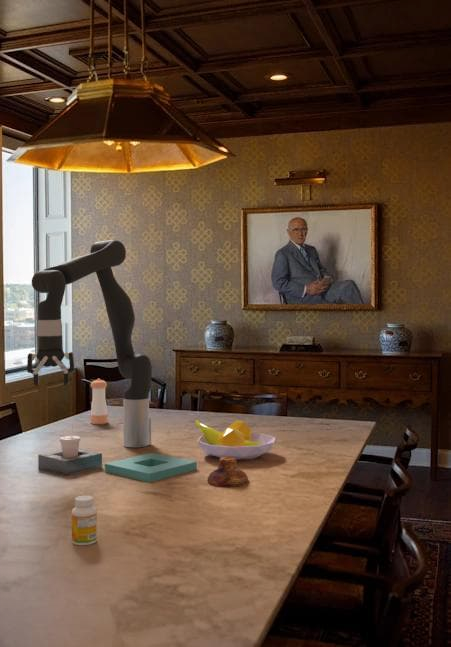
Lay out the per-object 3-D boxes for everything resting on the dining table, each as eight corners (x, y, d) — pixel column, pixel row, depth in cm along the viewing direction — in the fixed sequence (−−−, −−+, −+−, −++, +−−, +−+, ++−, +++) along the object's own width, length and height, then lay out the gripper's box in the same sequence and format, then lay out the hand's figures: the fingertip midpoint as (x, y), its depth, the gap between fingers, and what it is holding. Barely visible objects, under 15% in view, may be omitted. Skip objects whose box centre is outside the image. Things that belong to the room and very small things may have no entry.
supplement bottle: (73, 538, 158) (73, 494, 157) (98, 537, 158) (97, 494, 158) (70, 546, 152) (69, 501, 152) (95, 545, 153) (95, 500, 152)
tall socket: (74, 461, 233) (74, 447, 233) (102, 467, 224) (101, 453, 224) (38, 468, 222) (38, 454, 222) (65, 475, 213) (65, 461, 213)
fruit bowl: (291, 455, 241) (291, 421, 241) (238, 469, 221) (237, 433, 221) (230, 443, 260) (230, 413, 260) (176, 456, 240) (176, 422, 240)
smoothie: (75, 471, 219) (75, 426, 219) (56, 470, 221) (55, 425, 220) (83, 466, 226) (83, 422, 225) (65, 465, 227) (64, 421, 227)
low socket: (152, 460, 234) (152, 452, 234) (196, 469, 221) (196, 461, 221) (105, 471, 218) (104, 463, 218) (149, 482, 205) (149, 473, 205)
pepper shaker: (106, 424, 302) (105, 379, 301) (89, 424, 302) (88, 379, 301) (109, 421, 309) (108, 377, 309) (92, 421, 309) (92, 377, 309)
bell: (201, 480, 209) (201, 455, 208) (238, 476, 213) (238, 452, 213) (216, 489, 198) (216, 464, 198) (255, 485, 203) (255, 459, 203)
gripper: (74, 333, 226) (75, 383, 227) (28, 334, 224) (29, 385, 225) (72, 334, 219) (73, 386, 220) (25, 335, 217) (26, 388, 218)
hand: (51, 385), depth 222 cm, fingers open, 8 cm apart
